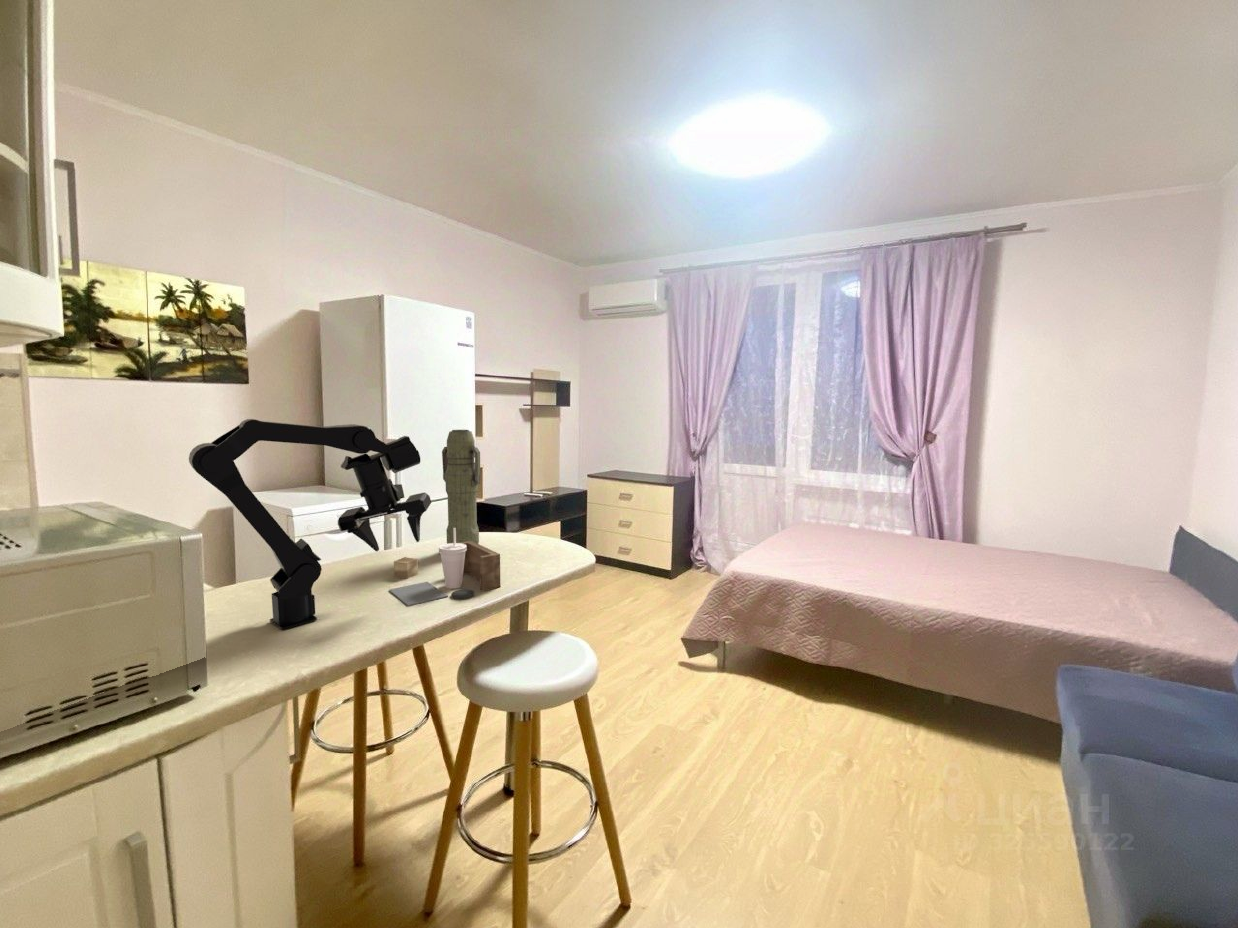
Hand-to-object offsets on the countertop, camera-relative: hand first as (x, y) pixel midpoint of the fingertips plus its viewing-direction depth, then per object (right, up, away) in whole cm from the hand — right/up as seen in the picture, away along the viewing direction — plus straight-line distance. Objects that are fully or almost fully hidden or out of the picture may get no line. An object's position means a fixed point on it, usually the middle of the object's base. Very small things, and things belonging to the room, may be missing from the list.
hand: (398, 545), depth 125 cm
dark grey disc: (+13, -12, +3) cm, 18 cm away
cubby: (+14, -10, +13) cm, 22 cm away
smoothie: (+10, -11, +9) cm, 17 cm away
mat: (+3, -11, +4) cm, 12 cm away
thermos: (+4, -7, +38) cm, 39 cm away
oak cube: (-4, -10, +16) cm, 20 cm away
